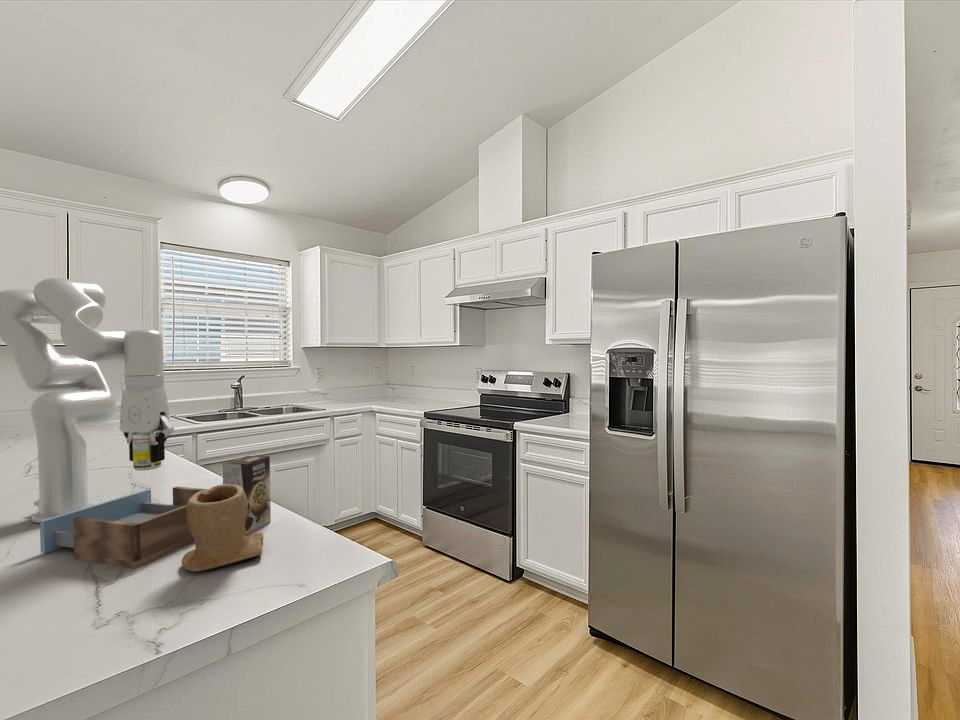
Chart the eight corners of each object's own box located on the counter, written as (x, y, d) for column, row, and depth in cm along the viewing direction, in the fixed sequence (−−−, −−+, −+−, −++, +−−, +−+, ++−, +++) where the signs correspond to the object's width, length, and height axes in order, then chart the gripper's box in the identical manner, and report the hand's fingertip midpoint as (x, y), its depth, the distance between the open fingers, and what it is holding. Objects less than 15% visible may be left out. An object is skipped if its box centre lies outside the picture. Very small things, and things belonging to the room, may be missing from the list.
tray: (40, 552, 103) (39, 520, 103) (147, 515, 126) (147, 489, 126) (98, 561, 99) (97, 528, 99) (198, 520, 122) (198, 493, 122)
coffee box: (247, 535, 113) (246, 463, 112) (222, 533, 114) (220, 462, 113) (272, 521, 121) (270, 455, 121) (248, 520, 123) (247, 454, 122)
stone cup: (185, 584, 89) (183, 500, 89) (179, 561, 99) (177, 486, 99) (275, 562, 98) (273, 486, 98) (261, 543, 108) (260, 474, 107)
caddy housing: (74, 559, 101) (73, 518, 100) (177, 519, 124) (176, 486, 123) (135, 568, 96) (134, 525, 96) (230, 525, 119) (229, 491, 119)
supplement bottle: (157, 464, 121) (155, 422, 121) (165, 467, 118) (164, 424, 118) (129, 468, 117) (128, 425, 117) (137, 472, 114) (136, 427, 113)
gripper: (101, 384, 116) (103, 462, 116) (159, 384, 111) (161, 466, 111) (132, 382, 123) (134, 455, 123) (187, 382, 118) (189, 458, 119)
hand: (147, 459), depth 117 cm, fingers closed on supplement bottle, 5 cm apart
